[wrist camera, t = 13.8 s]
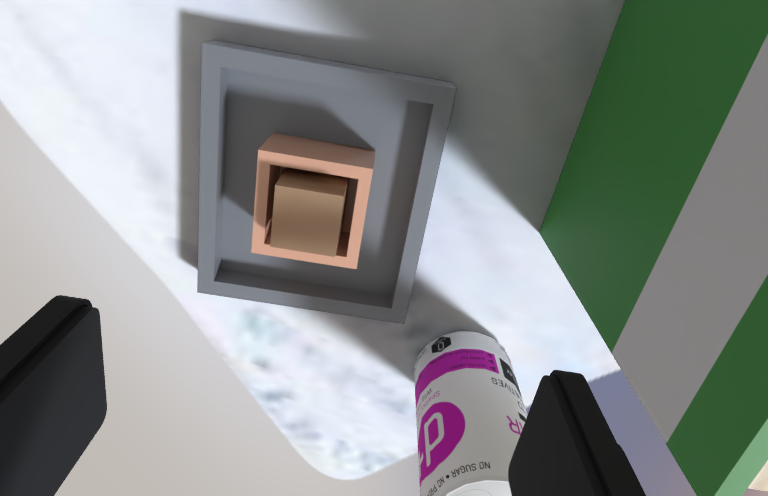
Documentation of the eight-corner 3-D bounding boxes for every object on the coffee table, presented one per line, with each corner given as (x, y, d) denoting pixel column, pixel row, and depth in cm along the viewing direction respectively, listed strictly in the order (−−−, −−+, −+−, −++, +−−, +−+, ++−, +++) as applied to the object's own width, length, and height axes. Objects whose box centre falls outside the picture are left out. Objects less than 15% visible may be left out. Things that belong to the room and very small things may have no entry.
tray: (214, 39, 35) (201, 43, 33) (452, 82, 36) (456, 88, 33) (207, 276, 43) (197, 292, 40) (403, 306, 43) (404, 324, 41)
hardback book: (631, 251, 41) (895, 540, 19) (539, 232, 40) (704, 509, 19) (744, 5, 33) (1387, 28, 12) (633, -22, 33) (1092, -50, 11)
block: (291, 158, 37) (275, 184, 32) (350, 168, 37) (343, 196, 32) (286, 213, 39) (269, 246, 34) (342, 222, 39) (335, 257, 34)
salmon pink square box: (273, 132, 37) (258, 149, 33) (375, 149, 37) (373, 169, 33) (265, 226, 40) (251, 252, 36) (360, 241, 40) (356, 269, 36)
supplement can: (396, 376, 47) (396, 533, 33) (450, 309, 44) (475, 452, 30) (470, 415, 48) (499, 579, 35) (528, 353, 45) (585, 507, 32)
